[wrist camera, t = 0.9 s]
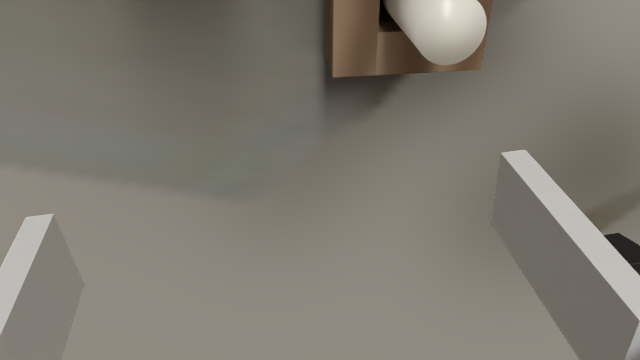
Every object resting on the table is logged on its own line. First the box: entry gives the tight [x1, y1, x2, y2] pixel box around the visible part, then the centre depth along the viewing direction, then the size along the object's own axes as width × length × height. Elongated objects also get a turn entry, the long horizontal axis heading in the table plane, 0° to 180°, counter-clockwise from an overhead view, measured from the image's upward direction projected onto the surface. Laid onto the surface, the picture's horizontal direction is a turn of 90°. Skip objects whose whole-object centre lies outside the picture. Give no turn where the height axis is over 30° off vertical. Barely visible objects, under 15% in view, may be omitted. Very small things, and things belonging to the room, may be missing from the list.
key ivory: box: [383, 0, 487, 65], centre depth 36 cm, size 4×4×9 cm
